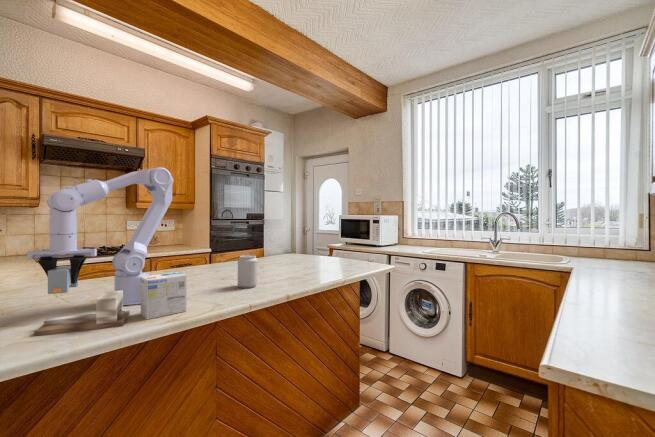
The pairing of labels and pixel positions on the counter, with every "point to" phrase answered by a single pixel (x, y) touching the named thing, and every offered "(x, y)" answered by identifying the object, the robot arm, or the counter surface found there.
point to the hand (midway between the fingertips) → (63, 283)
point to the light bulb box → (162, 294)
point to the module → (60, 280)
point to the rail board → (90, 317)
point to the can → (247, 271)
